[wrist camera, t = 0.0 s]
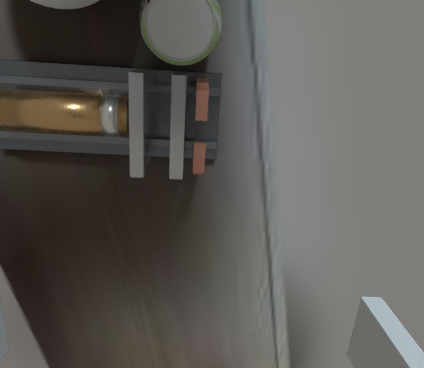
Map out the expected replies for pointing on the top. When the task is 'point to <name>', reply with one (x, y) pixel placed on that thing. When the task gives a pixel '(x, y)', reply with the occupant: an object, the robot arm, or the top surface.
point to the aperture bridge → (200, 115)
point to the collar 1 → (138, 122)
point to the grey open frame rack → (116, 85)
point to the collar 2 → (177, 124)
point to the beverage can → (180, 29)
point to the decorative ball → (65, 3)
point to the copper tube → (64, 112)
